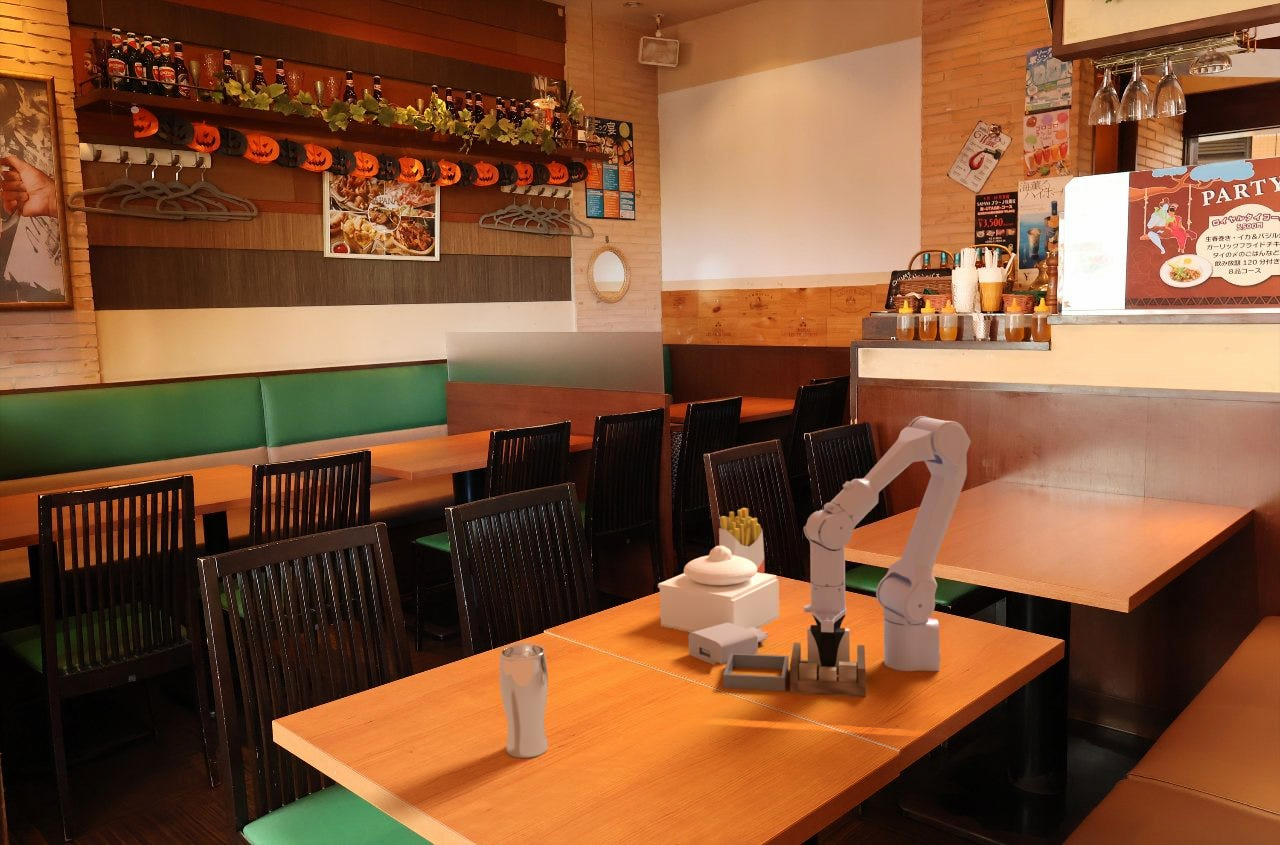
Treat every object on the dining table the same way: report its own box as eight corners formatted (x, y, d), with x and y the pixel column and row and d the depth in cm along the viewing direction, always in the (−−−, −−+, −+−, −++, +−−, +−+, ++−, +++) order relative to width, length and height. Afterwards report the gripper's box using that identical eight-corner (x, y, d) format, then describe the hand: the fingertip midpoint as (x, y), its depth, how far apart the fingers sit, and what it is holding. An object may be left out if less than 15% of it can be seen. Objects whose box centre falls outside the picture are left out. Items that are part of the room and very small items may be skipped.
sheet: (849, 674, 166) (849, 628, 165) (849, 676, 165) (849, 631, 164) (808, 672, 167) (807, 627, 166) (807, 674, 166) (807, 629, 165)
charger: (782, 650, 181) (721, 669, 173) (748, 637, 189) (688, 655, 180) (781, 625, 181) (721, 643, 172) (748, 613, 188) (688, 630, 179)
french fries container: (766, 586, 222) (764, 508, 220) (736, 597, 214) (734, 517, 212) (750, 582, 225) (748, 506, 223) (720, 593, 218) (718, 514, 215)
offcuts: (856, 688, 159) (856, 662, 159) (856, 692, 158) (856, 665, 157) (799, 685, 161) (799, 659, 161) (799, 689, 160) (799, 663, 159)
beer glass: (552, 737, 147) (547, 641, 145) (549, 758, 140) (544, 658, 138) (505, 739, 146) (501, 643, 145) (501, 761, 140) (495, 660, 138)
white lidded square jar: (734, 642, 186) (732, 561, 184) (658, 626, 197) (656, 549, 195) (779, 617, 200) (778, 542, 198) (706, 604, 211) (704, 532, 209)
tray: (788, 672, 170) (788, 655, 169) (785, 695, 160) (784, 677, 159) (730, 669, 172) (730, 653, 171) (723, 692, 162) (722, 674, 161)
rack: (864, 674, 168) (864, 644, 167) (865, 701, 156) (865, 670, 155) (794, 670, 170) (793, 641, 170) (790, 697, 159) (789, 666, 158)
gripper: (805, 569, 172) (806, 644, 174) (801, 593, 158) (802, 674, 159) (846, 570, 170) (846, 645, 172) (846, 595, 156) (846, 676, 158)
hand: (828, 659), depth 166 cm, fingers open, 6 cm apart
